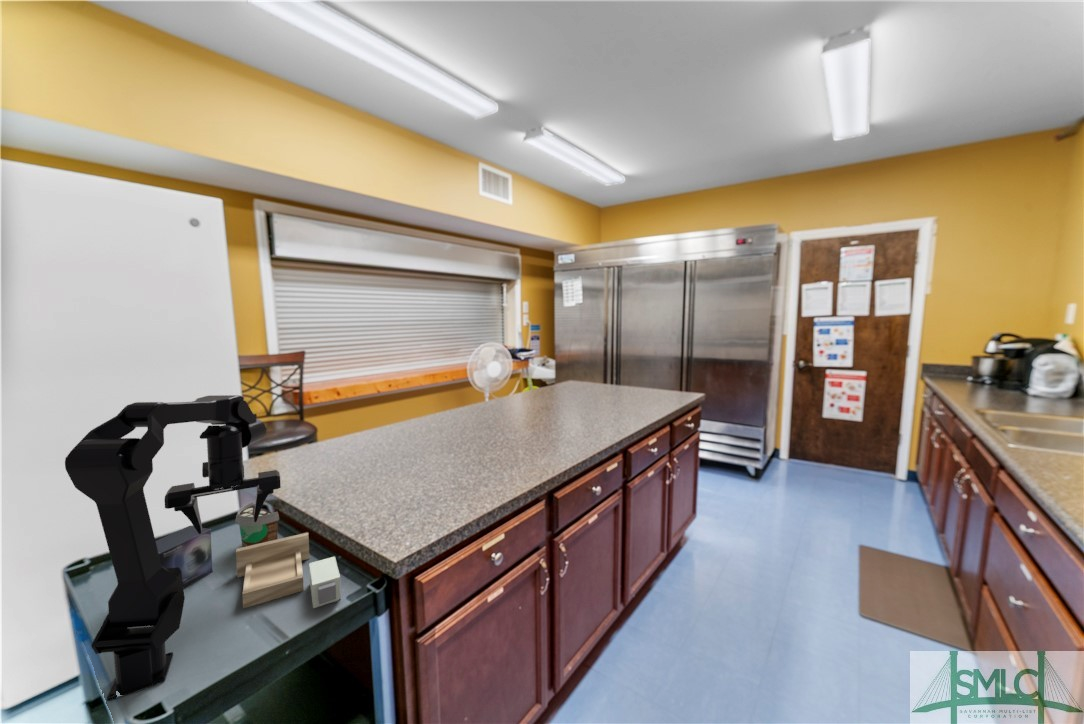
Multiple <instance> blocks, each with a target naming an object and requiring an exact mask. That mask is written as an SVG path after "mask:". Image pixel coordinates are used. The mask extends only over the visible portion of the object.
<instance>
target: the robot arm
mask: <svg viewBox="0 0 1084 724" xmlns="http://www.w3.org/2000/svg"><path fill="white" fill-rule="evenodd" d="M244 399H245V397H244V396H242V395H238V394H236V395H234V394H233V395H224V394H223V395H222V394H221V395H219V394H218V395H205V396H202V397H199V398H196V399H195V400H193V401H180V402H179V401H177V402H162V401H153V402H151V401H147V402H145V401H142V402H141V401H137V402H131V403H130V404H127V405H126V406H124V407H123V409H121V410H120V412H119V413H117V415H115V416H114V417H112V418H110V419H108V420H107V421H105V422H103V423H102V424H100V425H98V426H96V427H94V428H92V429H90V430H89V432H88V433H86V435H85V436H84V437H83V438H82V439H81V440H80V441H79V442H78V443H77V444H76V445H75V446H74V447H73V448H72V450H70V451H69V453H68V454H67V456H66V457H65V458H64V459H65V460H64V466H65V471H66V473H67V475H68V477H69V478H70V480H71V482H72V484H73V486H74V487H75V489H76V490H78V491H79V492H80V493H82V494H83V495H84V496H86V497H88V498H89V499H90V500H91V501H93V502H94V503H95V505H96V508H97V512H98V514H99V516H98V517H99V519H100V523H101V526H102V530H103V532H104V537H105V541H106V545H107V549H108V551H109V555H110V559H111V563H112V566H113V569H114V573H115V577H116V581H117V585H116V586H115V589H114V590H113V592H112V594H111V595H110V598H109V599H108V601H107V604H108V605H107V606H108V608H107V609H108V613H107V615H106V617H105V618H104V621H103V622H102V625H101V626H100V628H99V630H98V632H97V633H96V635H95V637H94V639H93V641H92V642H91V646H90V647H91V649H92V650H93V652H94V653H95V654H96V655H97V654H98V655H99V654H102V653H113V661H114V662H113V663H114V673H115V675H114V676H115V679H114V681H113V683H112V685H111V687H110V689H109V691H108V694H107V696H106V701H109V702H111V701H112V700H113V701H114V700H115V699H117V698H116V697H117V695H116V691H118V692H119V693H120V695H125V696H127V695H130V694H132V693H136V692H138V691H142V690H145V689H147V688H150V687H154V686H155V685H159V684H162V683H164V682H165V681H166V679H167V677H168V674H169V670H170V667H171V664H172V660H173V657H174V652H171V651H170V652H167V650H166V641H167V640H168V639H170V637H172V636H173V635H174V634H175V633H176V632H177V631H178V630H179V629H180V627H181V622H182V615H183V611H184V606H185V592H184V589H185V586H186V585H185V584H184V583H183V581H182V572H181V570H180V568H179V567H173V568H164V567H162V565H161V562H160V558H159V554H158V550H157V545H156V541H157V540H156V538H155V534H154V533H155V532H154V530H153V525H152V521H151V517H150V516H151V515H150V514H149V508H148V505H147V499H146V496H145V493H144V487H145V486H146V483H147V482H148V480H149V478H150V476H151V475H152V473H153V472H154V471H153V470H154V466H153V465H154V464H153V459H154V458H155V457H156V456H157V454H158V453H159V451H160V450H161V449H162V447H163V446H164V444H165V433H164V432H165V431H164V429H166V427H167V426H168V425H174V424H182V423H183V424H184V423H185V424H186V423H193V422H196V423H200V424H201V423H202V424H211V425H207V427H206V429H205V430H204V431H202V433H200V435H199V439H201V440H204V439H205V440H206V445H207V446H206V447H207V449H206V450H207V451H206V452H207V461H206V462H202V469H201V470H202V477H203V478H208V485H204V486H203V485H202V486H198V487H196V486H195V483H194V482H192V483H184V484H177V485H172V486H171V487H169V489H168V490H167V491H166V493H165V496H164V509H173V510H174V512H182V513H183V514H184V515H185V517H186V518H187V519H188V520H189V521H190V522H191V524H192V526H194V527H195V529H196V530H197V532H198V533H199V534H201V533H202V528H203V527H202V526H203V525H202V518H201V514H200V510H199V503H198V498H199V497H205V496H210V495H216V494H217V495H218V494H223V493H229V492H234V491H235V492H236V491H240V490H247V489H251V488H256V493H255V495H256V496H255V504H254V506H255V510H254V522H257V519H258V516H259V513H260V511H261V508H262V507H263V505H264V503H265V501H266V500H267V498H268V496H269V495H272V494H274V490H278V489H280V488H282V487H281V475H280V471H278V470H277V469H273V470H267V471H261V472H258V474H257V475H258V476H257V477H252V478H247V479H244V478H245V466H244V460H243V459H244V458H243V456H244V455H243V449H244V448H246V447H248V446H251V445H253V444H254V443H257V442H260V441H261V440H263V439H264V437H266V434H267V430H268V429H267V426H266V424H265V423H264V421H262V420H260V419H259V418H258V416H257V413H254V412H253V411H252V409H251V408H250V406H249V404H248V403H247V401H246V400H244ZM136 428H147V431H146V432H145V433H143V435H142V437H137V438H136V437H133V438H132V437H127V438H123V437H126V436H127V435H128V434H130V433H132V432H133V431H134V430H135V429H136ZM183 588H184V589H183Z"/></svg>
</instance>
